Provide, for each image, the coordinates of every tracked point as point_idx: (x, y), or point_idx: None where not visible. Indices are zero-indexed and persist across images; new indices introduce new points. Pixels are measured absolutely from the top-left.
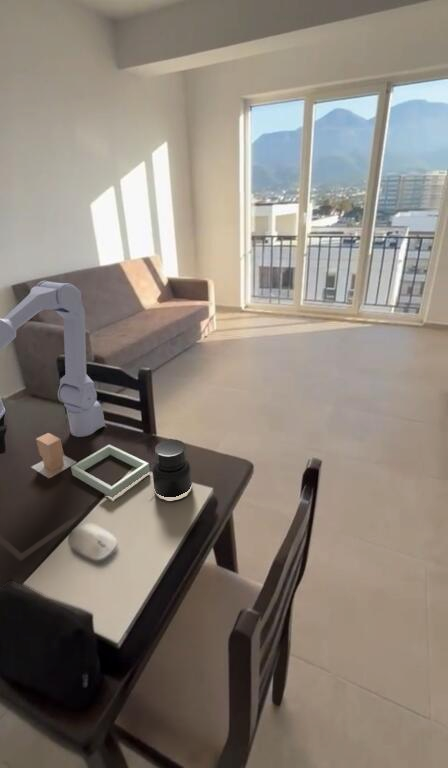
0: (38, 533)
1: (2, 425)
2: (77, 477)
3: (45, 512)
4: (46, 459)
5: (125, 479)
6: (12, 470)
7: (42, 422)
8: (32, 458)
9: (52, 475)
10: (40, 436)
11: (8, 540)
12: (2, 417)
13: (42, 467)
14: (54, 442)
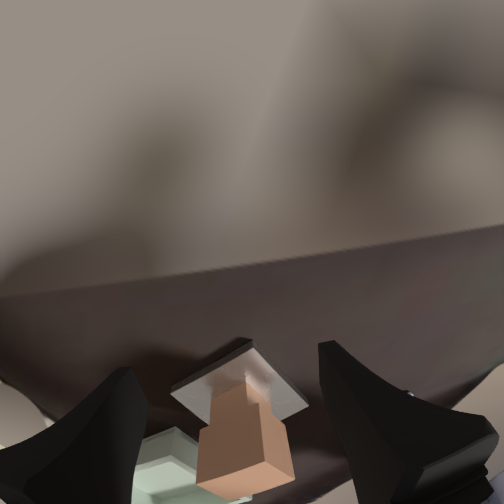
0: (9, 353)
1: (345, 443)
2: (158, 440)
3: (58, 370)
4: (226, 416)
5: None
6: (277, 279)
7: (499, 317)
8: (328, 331)
9: (182, 400)
10: (276, 468)
11: None
12: (360, 498)
13: (236, 378)
14: (213, 492)
